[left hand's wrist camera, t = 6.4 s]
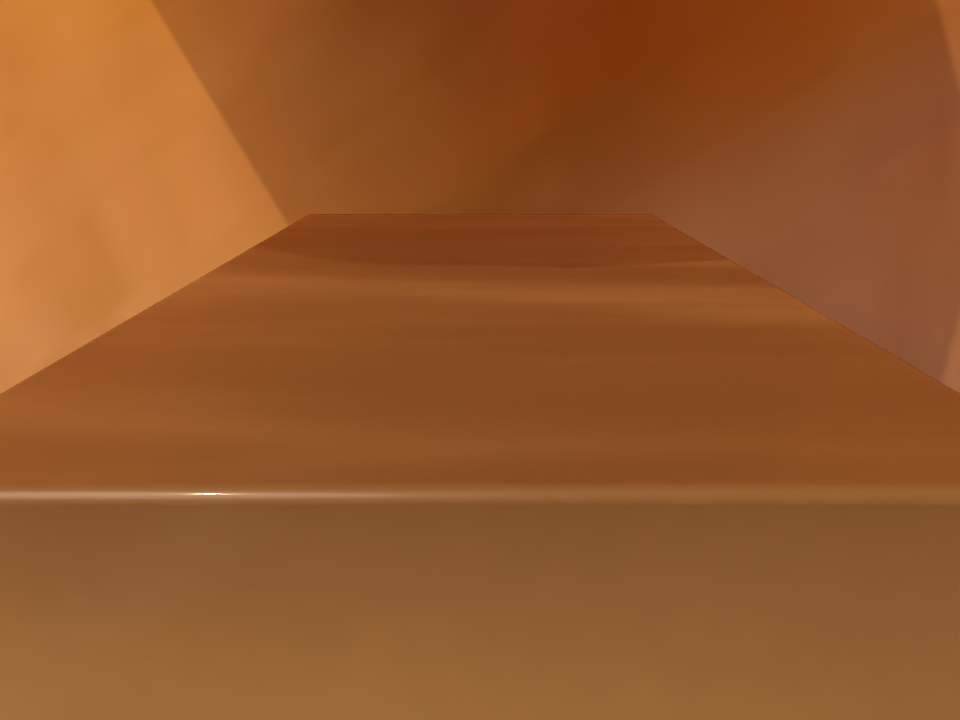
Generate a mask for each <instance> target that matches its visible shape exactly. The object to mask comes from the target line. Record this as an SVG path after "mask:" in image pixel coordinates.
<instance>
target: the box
mask: <svg viewBox="0 0 960 720" xmlns="http://www.w3.org/2000/svg"><path fill="white" fill-rule="evenodd" d="M0 720H960V394H959V393H958V392H956V391H954V390H952V389H951V388H949V387H947V386H946V385H944V384H942V383H940V382H939V381H937V380H935V379H933V378H932V377H930V376H928V375H927V374H925V373H923V372H921V371H920V370H918V369H916V368H915V367H913V366H911V365H909V364H908V363H906V362H904V361H903V360H901V359H899V358H897V357H896V356H894V355H892V354H891V353H889V352H887V351H885V350H884V349H882V348H880V347H879V346H877V345H875V344H873V343H872V342H870V341H868V340H866V339H865V338H863V337H861V336H860V335H858V334H856V333H854V332H853V331H851V330H849V329H848V328H846V327H844V326H842V325H841V324H839V323H837V322H836V321H834V320H832V319H830V318H829V317H827V316H825V315H824V314H822V313H820V312H818V311H817V310H815V309H813V308H811V307H810V306H808V305H806V304H805V303H803V302H801V301H799V300H798V299H796V298H794V297H793V296H791V295H789V294H787V293H786V292H784V291H782V290H781V289H779V288H777V287H775V286H774V285H772V284H770V283H769V282H767V281H765V280H763V279H762V278H760V277H758V276H757V275H755V274H753V273H751V272H750V271H748V270H746V269H744V268H743V267H741V266H739V265H738V264H736V263H734V262H732V261H731V260H729V259H727V258H726V257H724V256H722V255H720V254H719V253H717V252H715V251H714V250H712V249H710V248H708V247H707V246H705V245H703V244H702V243H700V242H698V241H696V240H695V239H693V238H691V237H689V236H688V235H686V234H684V233H683V232H681V231H679V230H677V229H676V228H674V227H672V226H671V225H669V224H667V223H665V222H664V221H662V220H660V219H659V218H657V217H655V216H653V215H651V214H310V215H307V216H305V217H304V218H302V219H300V220H299V221H297V222H295V223H293V224H292V225H290V226H288V227H286V228H285V229H283V230H281V231H280V232H278V233H276V234H274V235H273V236H271V237H269V238H268V239H266V240H264V241H262V242H261V243H259V244H257V245H256V246H254V247H252V248H250V249H249V250H247V251H245V252H244V253H242V254H240V255H238V256H237V257H235V258H233V259H232V260H230V261H228V262H226V263H225V264H223V265H221V266H219V267H218V268H216V269H214V270H213V271H211V272H209V273H207V274H206V275H204V276H202V277H201V278H199V279H197V280H195V281H194V282H192V283H190V284H189V285H187V286H185V287H183V288H182V289H180V290H178V291H177V292H175V293H173V294H171V295H170V296H168V297H166V298H165V299H163V300H161V301H159V302H158V303H156V304H154V305H152V306H151V307H149V308H147V309H146V310H144V311H142V312H140V313H139V314H137V315H135V316H134V317H132V318H130V319H128V320H127V321H125V322H123V323H122V324H120V325H118V326H116V327H115V328H113V329H111V330H110V331H108V332H106V333H104V334H103V335H101V336H99V337H98V338H96V339H94V340H92V341H91V342H89V343H87V344H85V345H84V346H82V347H80V348H79V349H77V350H75V351H73V352H72V353H70V354H68V355H67V356H65V357H63V358H61V359H60V360H58V361H56V362H55V363H53V364H51V365H49V366H48V367H46V368H44V369H43V370H41V371H39V372H37V373H36V374H34V375H32V376H31V377H29V378H27V379H25V380H24V381H22V382H20V383H18V384H17V385H15V386H13V387H12V388H10V389H8V390H6V391H5V392H3V393H1V394H0Z"/></svg>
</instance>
